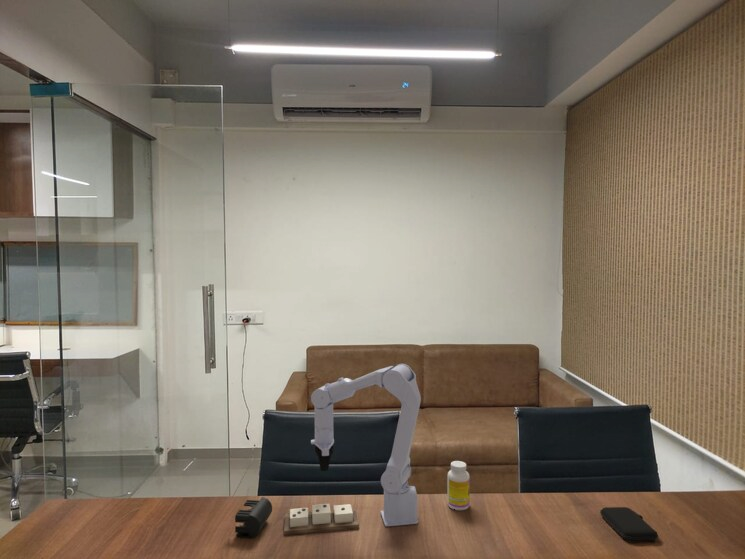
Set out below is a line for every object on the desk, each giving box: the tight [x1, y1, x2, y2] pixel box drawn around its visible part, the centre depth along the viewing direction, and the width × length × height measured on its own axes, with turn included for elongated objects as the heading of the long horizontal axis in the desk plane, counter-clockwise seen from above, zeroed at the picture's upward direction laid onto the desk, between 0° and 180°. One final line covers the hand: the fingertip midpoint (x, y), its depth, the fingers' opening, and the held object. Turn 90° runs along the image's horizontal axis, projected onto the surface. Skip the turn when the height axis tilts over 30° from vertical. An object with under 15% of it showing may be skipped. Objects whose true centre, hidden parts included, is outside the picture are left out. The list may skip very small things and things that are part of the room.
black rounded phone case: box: [599, 506, 659, 543], centre depth 130 cm, size 11×3×15 cm
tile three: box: [289, 507, 309, 527], centre depth 132 cm, size 5×5×3 cm
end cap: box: [234, 496, 273, 540], centre depth 130 cm, size 10×7×7 cm
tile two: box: [311, 503, 331, 525], centre depth 133 cm, size 5×5×3 cm
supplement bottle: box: [446, 460, 471, 511], centre depth 142 cm, size 7×7×13 cm
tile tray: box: [283, 507, 360, 536], centre depth 133 cm, size 20×9×1 cm, turn 99°
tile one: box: [333, 503, 353, 523], centre depth 134 cm, size 5×5×3 cm
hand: (324, 469), depth 144 cm, fingers closed
